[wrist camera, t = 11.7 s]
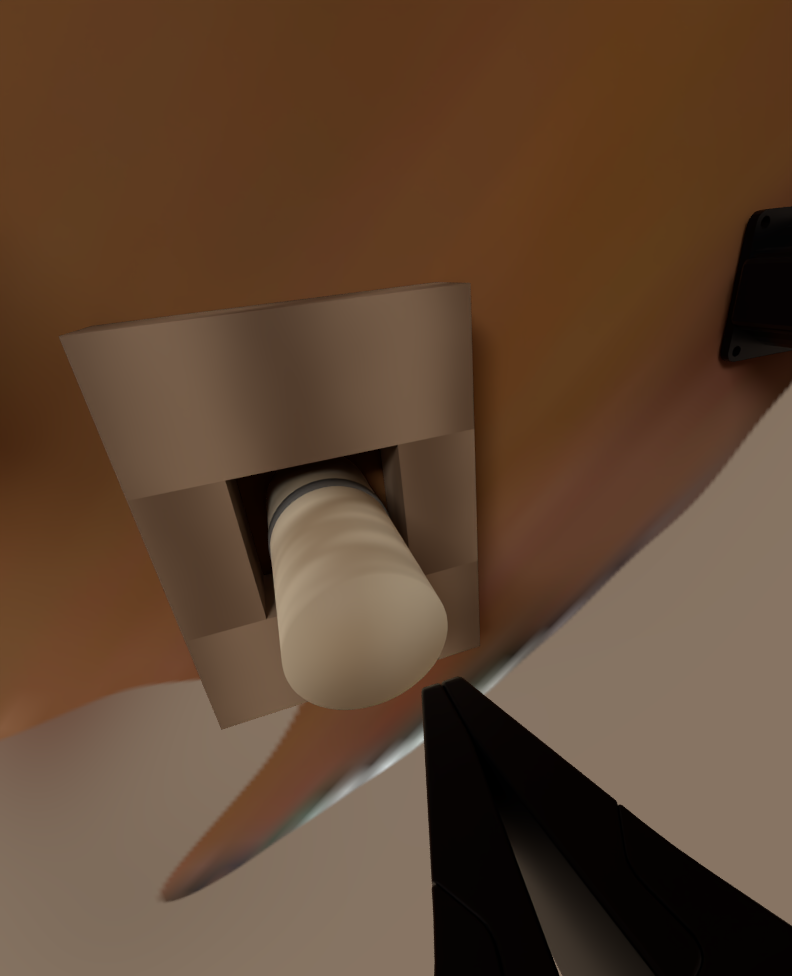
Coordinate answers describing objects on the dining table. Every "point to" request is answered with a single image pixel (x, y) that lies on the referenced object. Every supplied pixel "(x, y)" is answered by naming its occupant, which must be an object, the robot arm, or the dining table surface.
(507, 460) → the dining table surface
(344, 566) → the birch peg
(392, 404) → the walnut board
